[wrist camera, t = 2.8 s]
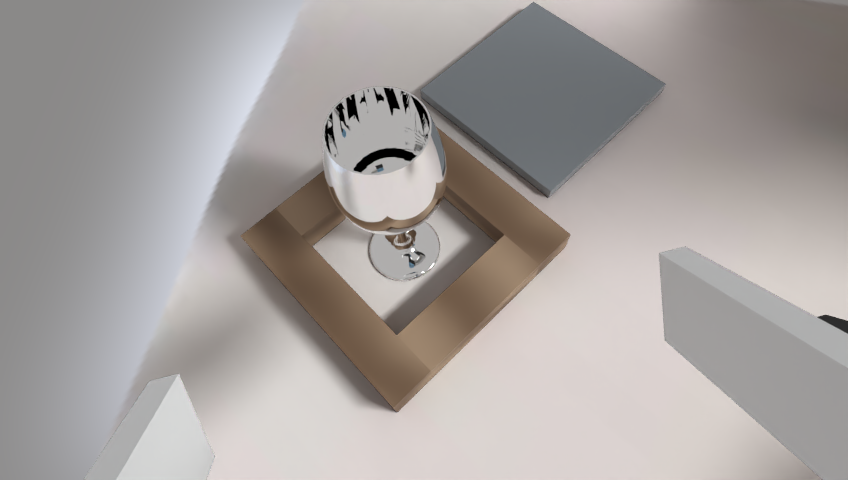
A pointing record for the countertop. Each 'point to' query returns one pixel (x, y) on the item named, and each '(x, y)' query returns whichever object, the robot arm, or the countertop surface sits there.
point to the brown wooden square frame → (449, 313)
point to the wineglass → (387, 176)
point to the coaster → (542, 96)
